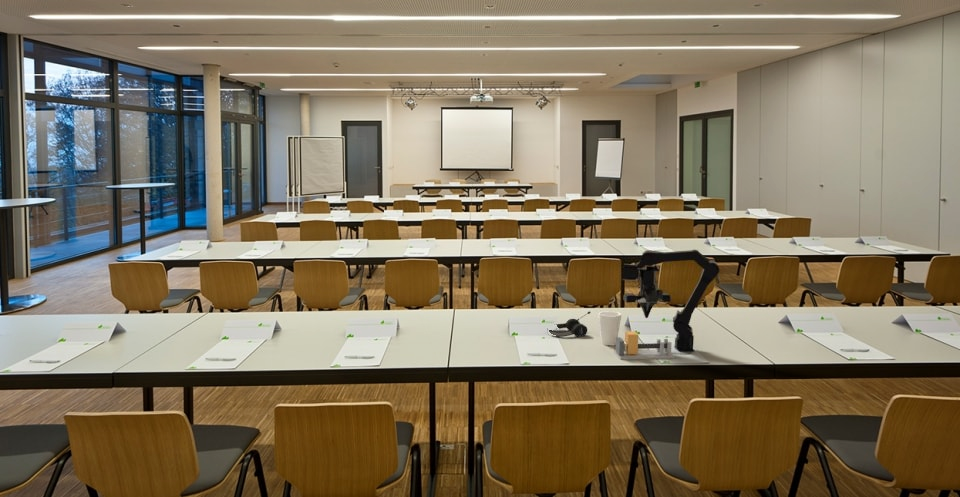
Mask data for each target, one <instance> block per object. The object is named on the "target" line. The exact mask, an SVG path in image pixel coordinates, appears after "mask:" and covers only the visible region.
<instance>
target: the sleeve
mask: <svg viewBox="0 0 960 497" xmlns="http://www.w3.org/2000/svg"><path fill="white" fill-rule="evenodd" d="M624 342H626V344H627V351H625V352H626V353H627V354H638V350H639V349H638V344H639V334H638V332H636V331H634V330H633V331H631V330H630V331H624Z"/></svg>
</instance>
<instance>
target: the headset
mask: <svg viewBox="0 0 960 497" xmlns="http://www.w3.org/2000/svg"><path fill="white" fill-rule="evenodd" d="M590 314H591V311H590V310H589V311H588V312H587V313H586V314H584V315H583V316H581V317H580V318H577V319H576V318H570V319H569V318H568V320H567V321H566V322H565V323H556V325H557V327H558V328H559V329H558V330H559V331H558V330H553V331H552V330H549V332H550V333H551V334H553V335H556V336H558V337H557V338H559V337H560V338H564V337H568V336H572V335H573V336H576V337H578V336H579V337H585V335H586V334H588V327H587V326H586V325H585V324H583V323H580V319H582V318H583V317H585V316H586V315H590ZM560 329H567V330H564V331H560Z"/></svg>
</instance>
